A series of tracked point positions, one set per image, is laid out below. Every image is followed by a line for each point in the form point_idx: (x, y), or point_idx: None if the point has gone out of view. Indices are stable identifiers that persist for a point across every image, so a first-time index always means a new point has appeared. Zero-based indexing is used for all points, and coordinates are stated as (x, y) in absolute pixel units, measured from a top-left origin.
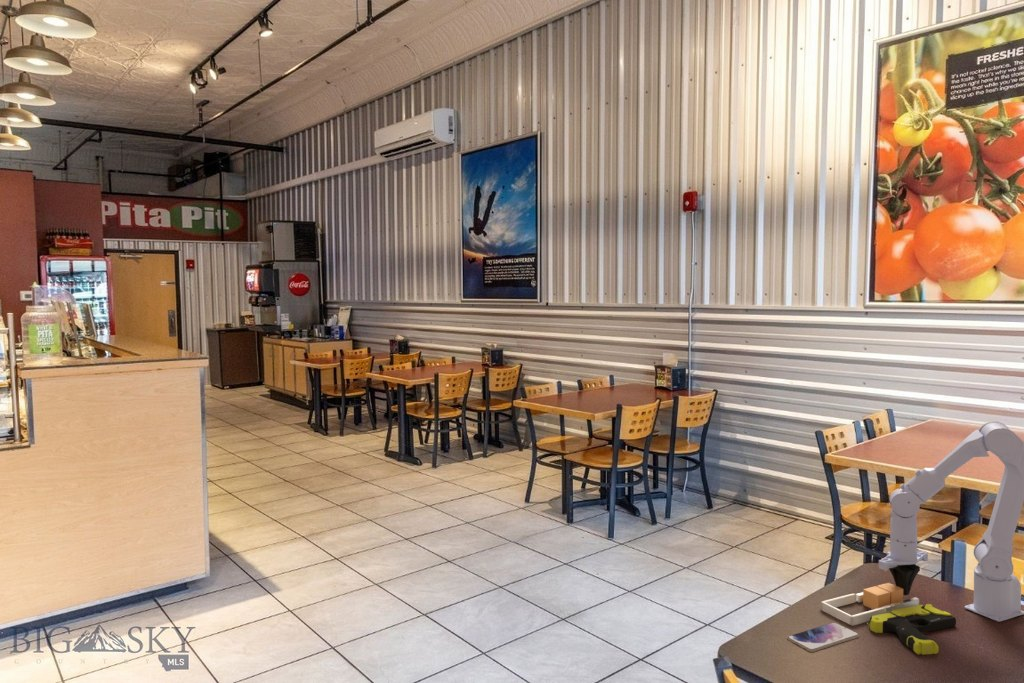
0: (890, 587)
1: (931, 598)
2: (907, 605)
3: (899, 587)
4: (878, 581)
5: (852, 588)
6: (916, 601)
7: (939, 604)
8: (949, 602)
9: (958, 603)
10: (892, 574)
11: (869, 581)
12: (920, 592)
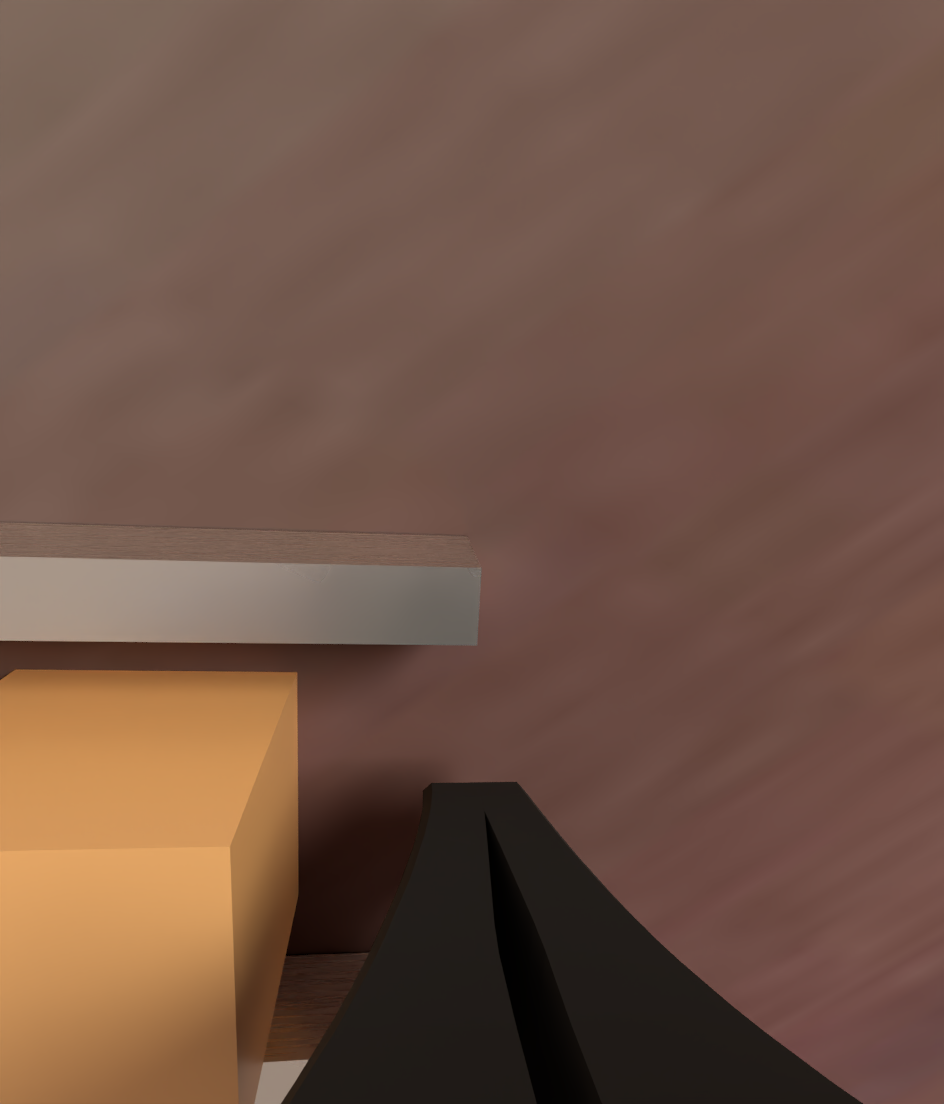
0: (24, 1041)
1: (801, 902)
2: None
3: (231, 1096)
4: (779, 120)
5: (30, 55)
6: None
7: None
8: (853, 1039)
9: (902, 1084)
10: (304, 1089)
11: (642, 15)
12: (877, 733)
